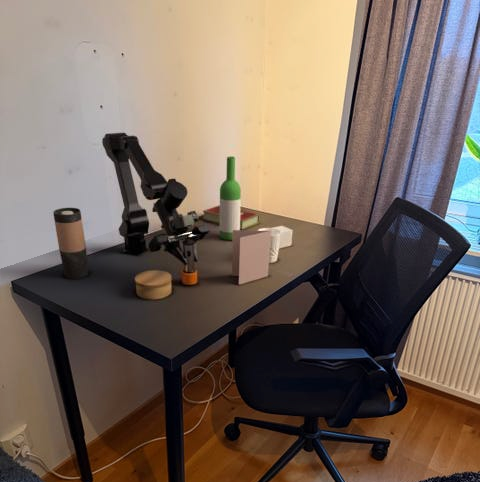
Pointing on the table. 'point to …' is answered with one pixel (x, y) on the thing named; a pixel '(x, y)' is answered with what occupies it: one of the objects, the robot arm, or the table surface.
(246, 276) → the greeting card
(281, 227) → the cream cube
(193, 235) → the robot arm
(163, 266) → the table surface
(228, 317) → the table surface
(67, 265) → the travel mug
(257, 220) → the hardcover book
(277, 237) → the white cup
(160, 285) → the birch box
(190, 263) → the torch
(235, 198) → the wine bottle
